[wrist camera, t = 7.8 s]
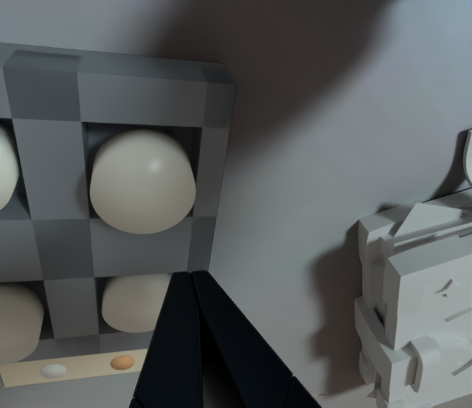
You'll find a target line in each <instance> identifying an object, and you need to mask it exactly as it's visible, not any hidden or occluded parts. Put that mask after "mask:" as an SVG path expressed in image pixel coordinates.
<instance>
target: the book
mask: <svg viewBox="0 0 472 408" xmlns="http://www.w3.org/2000/svg"><path fill="white" fill-rule="evenodd" d="M463 167H464V173H465V176H466V179H467V181H468V183H469V185H470V186H471V188H472V129H471V130H469V131H468V135H467V139H466V144H465V148H464V154H463ZM358 243H359V259H360V261H361V263H362V296H360V297H357V298H355V328H356V330H357V333H358V335H359V337H360V339H361V341H362V351H360V356H359V371H360V374H361V376H362V378H363V380H364V381H365V383H366V385H367V384H371V383H375V387H374V391H373V392H371V393H370V394H369V395H368V396H367V397H372V398H377V400H376V404H377V407H378V408H432V407H433V406H435V405H438V404H441V403H444V402H447V401H450V400H453V399H456V398H459V397H462V396H465V395H468V394H471V393H472V189H468V190H465V191H462V192H458V193H455V194H451V195H448V196H445V197H441V198H438V199H435V200H431V201H428V202H425V203H422V202H421V201H420V200H418V201H415V202H412V203H408V204H405V205H402V206H398V207H395V208H391V209H388V210H385V211H381V212H378V213H376V214H373V215H370V216H367V217H364V218H361V219H359V227H358Z"/></svg>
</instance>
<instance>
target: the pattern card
mask: <svg viewBox="0 0 472 408" xmlns="http://www.w3.org/2000/svg"><path fill="white" fill-rule="evenodd" d="M147 350H148V349H140V350H131V351H121V352H112V353H103V354H93V355H84V356H74V357H65V358H56V359H46V360H37V361H27V362H18V363H10V364H5V365H0V374H1V377H2V380H3V383H4V386H5V387H12V386H21V385H29V384H37V383H45V382H54V381H62V380H70V379H78V378H87V377H95V376H103V375H112V374H120V373H128V372H136V371H141V369H142V366H143V363H144V360H145V357H146V354H147Z"/></svg>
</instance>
